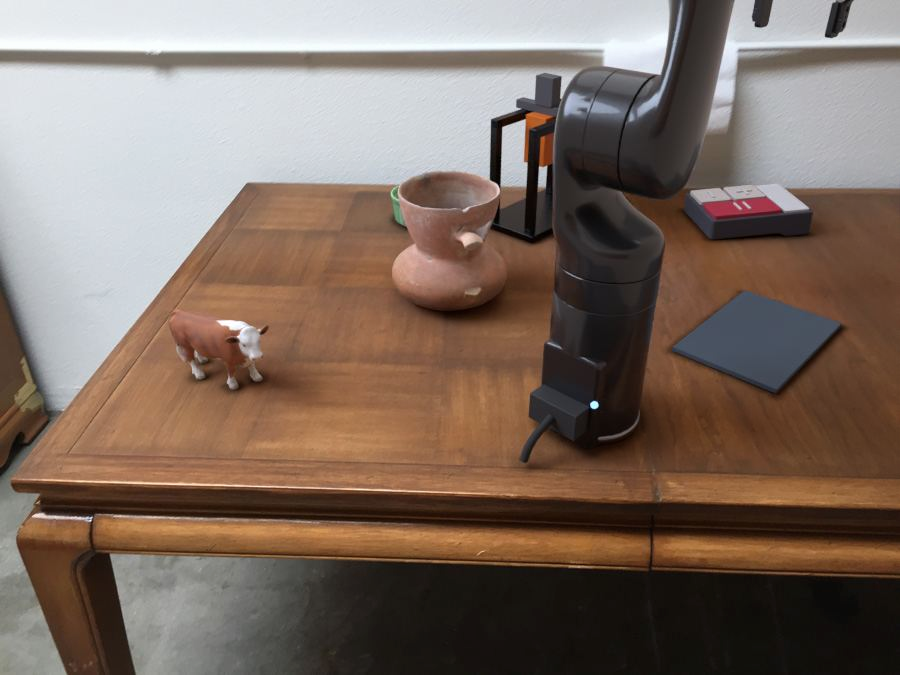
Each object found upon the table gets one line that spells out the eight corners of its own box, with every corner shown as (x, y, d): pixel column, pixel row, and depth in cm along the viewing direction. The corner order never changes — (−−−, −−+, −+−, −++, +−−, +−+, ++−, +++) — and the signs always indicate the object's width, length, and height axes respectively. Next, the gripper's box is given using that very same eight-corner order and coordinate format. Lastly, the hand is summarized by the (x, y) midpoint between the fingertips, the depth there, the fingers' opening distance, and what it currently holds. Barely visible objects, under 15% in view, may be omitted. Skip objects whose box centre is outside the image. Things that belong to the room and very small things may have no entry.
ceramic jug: (529, 315, 93) (535, 205, 86) (415, 337, 89) (411, 224, 82) (475, 253, 108) (476, 155, 100) (375, 270, 103) (368, 169, 96)
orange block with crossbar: (561, 172, 109) (567, 85, 103) (506, 156, 115) (509, 73, 108) (581, 163, 112) (589, 78, 106) (527, 148, 118) (531, 66, 112)
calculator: (685, 188, 118) (780, 179, 119) (682, 214, 120) (775, 205, 121) (713, 216, 109) (815, 206, 110) (709, 244, 111) (809, 234, 112)
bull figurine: (260, 409, 78) (249, 341, 73) (170, 370, 84) (154, 305, 79) (290, 387, 81) (280, 321, 76) (200, 351, 87) (187, 288, 83)
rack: (531, 243, 110) (537, 133, 102) (479, 224, 116) (481, 119, 108) (598, 209, 121) (609, 107, 112) (547, 193, 127) (554, 94, 118)
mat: (775, 394, 79) (777, 389, 79) (671, 351, 86) (672, 346, 86) (840, 327, 90) (842, 323, 90) (744, 293, 97) (744, 289, 97)
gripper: (751, -130, 84) (723, 28, 92) (887, -129, 75) (842, 45, 84) (783, -131, 88) (754, 20, 97) (915, -130, 79) (870, 36, 88)
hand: (795, 31), depth 90 cm, fingers open, 8 cm apart
